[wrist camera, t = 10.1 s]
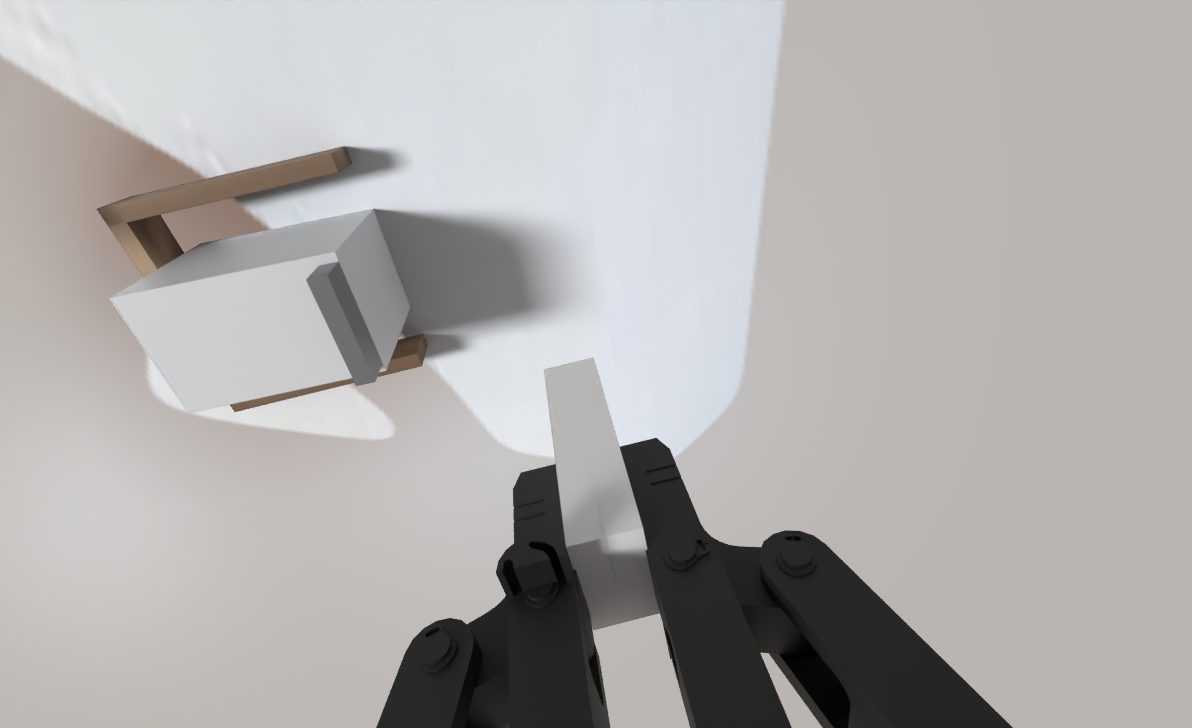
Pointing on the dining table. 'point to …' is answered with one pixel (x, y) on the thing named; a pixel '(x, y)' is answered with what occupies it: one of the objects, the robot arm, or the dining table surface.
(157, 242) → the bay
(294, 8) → the dining table surface
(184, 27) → the dining table surface
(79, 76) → the dining table surface
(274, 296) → the grey box with ridge
